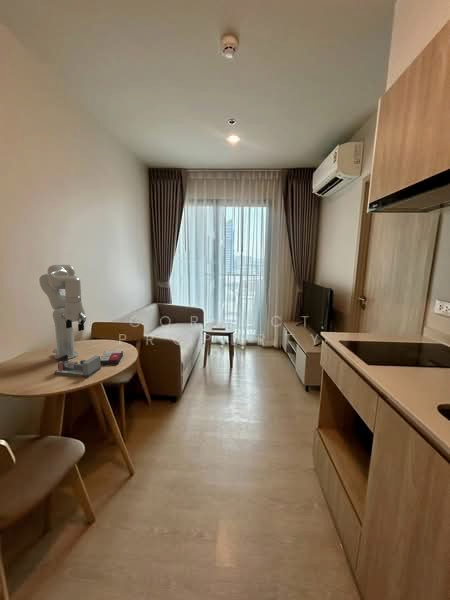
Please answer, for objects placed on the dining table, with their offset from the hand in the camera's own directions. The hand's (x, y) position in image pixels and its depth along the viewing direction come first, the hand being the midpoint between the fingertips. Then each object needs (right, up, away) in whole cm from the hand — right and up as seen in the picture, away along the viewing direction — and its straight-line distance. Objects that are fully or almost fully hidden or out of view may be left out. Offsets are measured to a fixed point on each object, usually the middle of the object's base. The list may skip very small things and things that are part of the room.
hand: (75, 329), depth 147 cm
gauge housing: (+3, -24, -2) cm, 24 cm away
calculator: (+14, -22, +15) cm, 30 cm away
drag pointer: (-4, -22, -6) cm, 23 cm away
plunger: (-3, -22, -3) cm, 22 cm away
